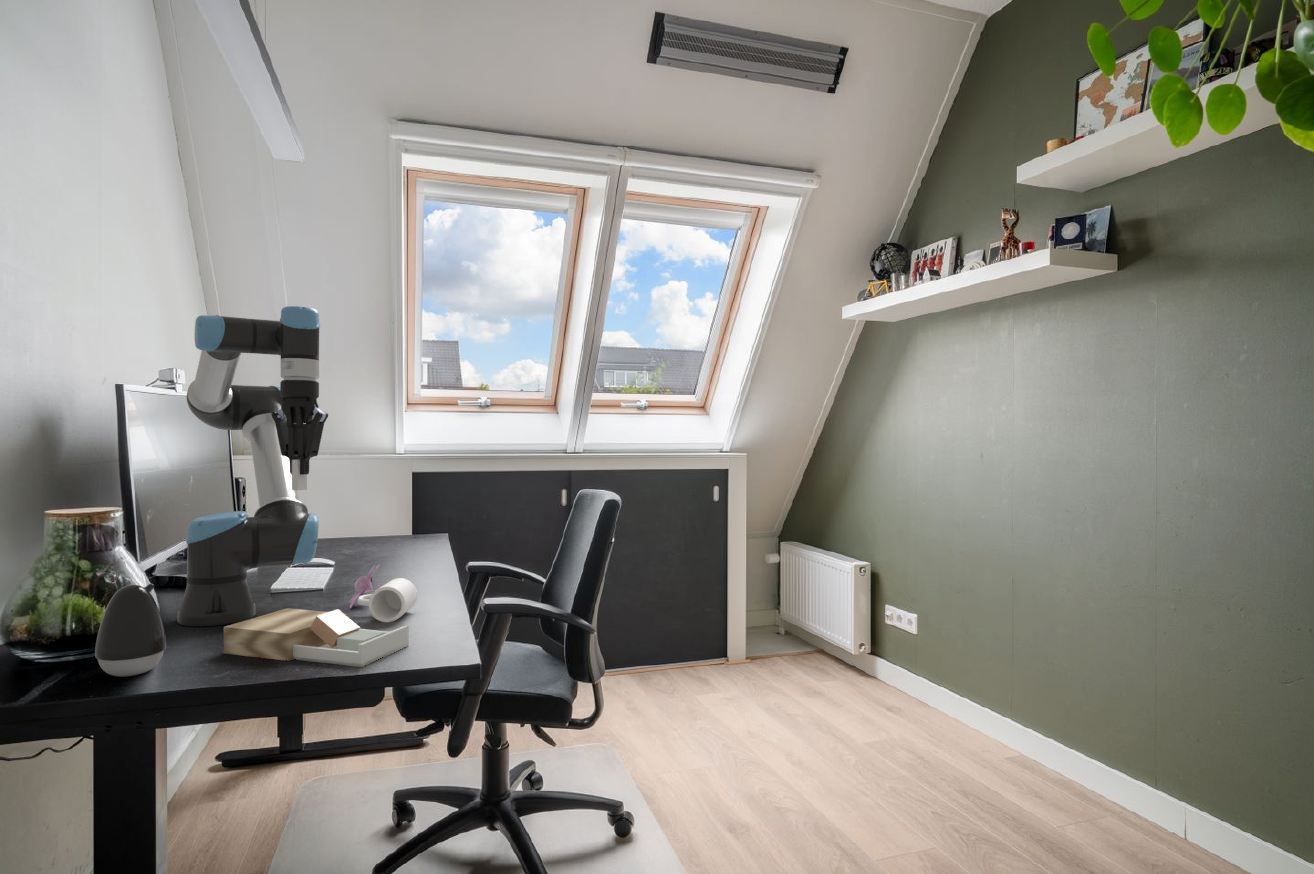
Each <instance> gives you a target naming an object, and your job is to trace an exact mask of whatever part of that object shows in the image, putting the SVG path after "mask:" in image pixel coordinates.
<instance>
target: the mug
mask: <svg viewBox="0 0 1314 874" xmlns="http://www.w3.org/2000/svg"><path fill="white" fill-rule="evenodd" d="M417 600H418V590H417V588H416V585H415V584H414V582H412V581H410V580H409V579H407V578H403V577H401V578H400V577H399V578H397V577H396V578H393V579H392V580H390V581H388V582H387V583H385V584H383V585H382V586H380V587H379V588H377V589H375V590H374V592H373V591H372V593H369V594H368V593H367V594H363V595H361V596H358V598H357V599H356V601H357V604H358V605H360V606H363V607H368V611H369V612H370V615H371V616H372V617H373V618H374V619H375V620H377V621H378V622H381V623H393V622H395V621H397V620H398V619H400V618H401V617H402V616H403V615H405V614H406V613H407V612H409V611H410V610H411V609H412V608H413V607H414V606H415V604H416V602H417Z"/></svg>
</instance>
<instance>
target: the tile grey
mask: <svg viewBox="0 0 1314 874" xmlns="http://www.w3.org/2000/svg"><path fill="white" fill-rule="evenodd" d="M383 634H385V632H376V631H365V630H356V631H354V632H351V633H348V634H346V635H343V636H340V637H338V638H337V649H341V650H351V651H358V644H361V643H363V642H366V641H368V640H371V639H373V638H376V637H378V636H381V635H383Z"/></svg>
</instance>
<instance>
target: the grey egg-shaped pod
mask: <svg viewBox="0 0 1314 874" xmlns="http://www.w3.org/2000/svg"><path fill="white" fill-rule="evenodd" d="M153 589H155V585H154V584H153V583H149V584H148V585H146V586H145V587H144V586H142V585H139V584H129V585H125V586H123V587H121V588H119V589H118V590H117V591H115V593H114V594H113V596H112V597H111V598H110V600H109V602H108V604H107V606H106V607H105V610H104V614H103V616H102V619H101V622H100V623H99V629H98V631H97V636H96V642H95V648H94V649H95V650H94V656H95V658H96V659H97V662H98V664H99V666H100V668H101V669H102V670H103V672H105V673H106V674H108V675H111V676H113V677H120V678H124V677H125V678H126V677H133V676H138V675H141V674H145V673H148V672H149V671H151V670H152V669H154V668H155V667H156V666H157V665H158V664H160V661H161V660H162V657H163V655H164V652H165V650H166V648H167V638H166V637H167V636H166V630H165V625H164V621H163V618H162V615H161V612H160V610H159V607H158V604H157V601H156V600H155V598H154V597H153V594H152V593H151V592H152V591H153Z"/></svg>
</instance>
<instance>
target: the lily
mask: <svg viewBox="0 0 1314 874" xmlns="http://www.w3.org/2000/svg"><path fill="white" fill-rule="evenodd" d="M380 566H381V564H377V565H376V564H374V565H373V566H372V567H371V569H369V572H368V573H367V574H366V575H361V576H359V577H358V578H357V579H356V581H355V583H354V590H355V593H354V594H353V595H352V596H351V597H350V598H351V599H350V600H349V602H348V604H350V605H349V609H350V608H351V609H352V607H353V606H354V604H355V602H356V601H357V600H358V598H359V597H360V596H362V595H367V594H368V593H371V592H372V593H373V592H374V591H375V590H374V585H373V576H374V574H375V572H376V571H377V570H378V568H379V567H380Z"/></svg>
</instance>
